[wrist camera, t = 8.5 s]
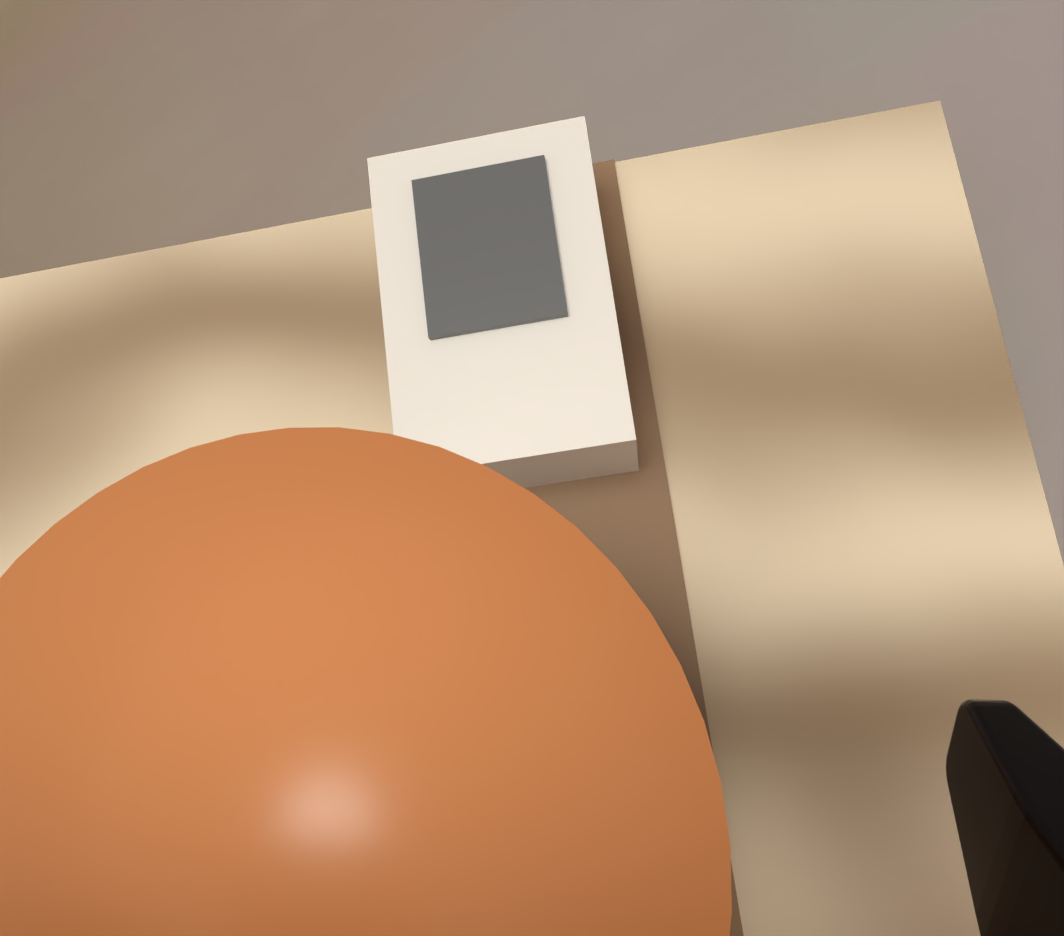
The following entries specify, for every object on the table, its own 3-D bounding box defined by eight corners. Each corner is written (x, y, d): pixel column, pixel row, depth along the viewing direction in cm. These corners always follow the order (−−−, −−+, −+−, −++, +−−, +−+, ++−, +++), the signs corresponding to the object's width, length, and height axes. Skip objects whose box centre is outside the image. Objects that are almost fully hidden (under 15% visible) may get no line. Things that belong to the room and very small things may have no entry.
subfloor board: (1213, 1297, 14) (1281, 1374, 13) (-142, 1372, 17) (-223, 1444, 15) (918, 143, 19) (941, 97, 18) (-102, 332, 22) (-160, 306, 20)
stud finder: (638, 470, 17) (635, 437, 14) (432, 502, 17) (395, 475, 15) (593, 186, 18) (583, 110, 16) (403, 221, 19) (364, 153, 16)
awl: (652, 848, 15) (708, 1702, 3) (431, 791, 16) (-352, 1269, 3) (694, 618, 16) (894, 455, 3) (481, 572, 17) (-4, 292, 4)
